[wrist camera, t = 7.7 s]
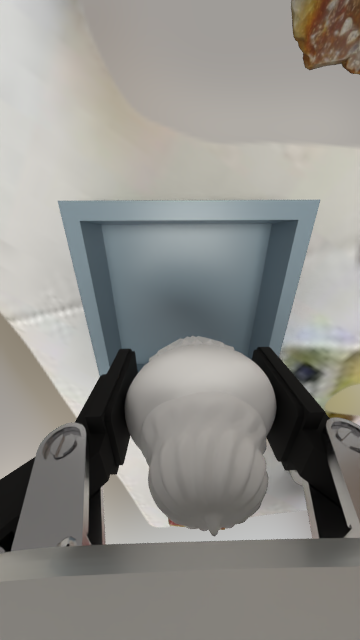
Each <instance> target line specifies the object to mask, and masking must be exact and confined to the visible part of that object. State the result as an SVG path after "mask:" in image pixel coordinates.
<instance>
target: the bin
mask: <svg viewBox="0 0 360 640" xmlns="http://www.w3.org/2000/svg"><path fill="white" fill-rule="evenodd" d="M319 203H320V200H143V201H58V204H59V208H60V212H61V217H62V221H63V225H64V229H65V233H66V237H67V242H68V246H69V250H70V254H71V258H72V262H73V267H74V271H75V275H76V279H77V283H78V287H79V292H80V296H81V300H82V304H83V308H84V312H85V317H86V321H87V325H88V329H89V333H90V337H91V342H92V346H93V350H94V354H95V358H96V363H97V367H98V371H99V375H100V376H101V375H102V374H107V372H108V370H109V368H110V366H111V365H112V363H113V361H114V359H115V357H116V355H117V353H118V351H119V349H131V350H132V351H135V355H136V362H137V370H138V373H139V371H140V370H141V369H142V368H143V366H144V365H146V364H147V363H148V362H149V358H151V357H152V356H154V355H155V354H157V352H158V351H159V350H160V349H162V348H164V347H166V346H167V345H169V344H171V343H173V342H175V341H176V340H178V339H180V338H181V339H184V338H186V337H187V336H188V337H191V336H195V337H197V336H200V337H205V338H209V339H212V340H216V341H220V342H223V343H224V344H225V345H228V346H231V347H234V350H235V351H237V352H240V353H242V354H243V355H245V356H246V357H248V358H249V359H251V360H252V356H253V351H254V350H256V349H257V347H270V348H271V349H272V350H273V351H274V352H275V353H276V355H277V356H278V357H279V354H280V350H281V347H282V343H283V339H284V335H285V331H286V328H287V324H288V320H289V316H290V313H291V309H292V305H293V301H294V297H295V294H296V290H297V286H298V282H299V279H300V275H301V271H302V267H303V263H304V260H305V256H306V252H307V248H308V245H309V241H310V237H311V233H312V229H313V226H314V222H315V218H316V214H317V211H318V207H319Z"/></svg>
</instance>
